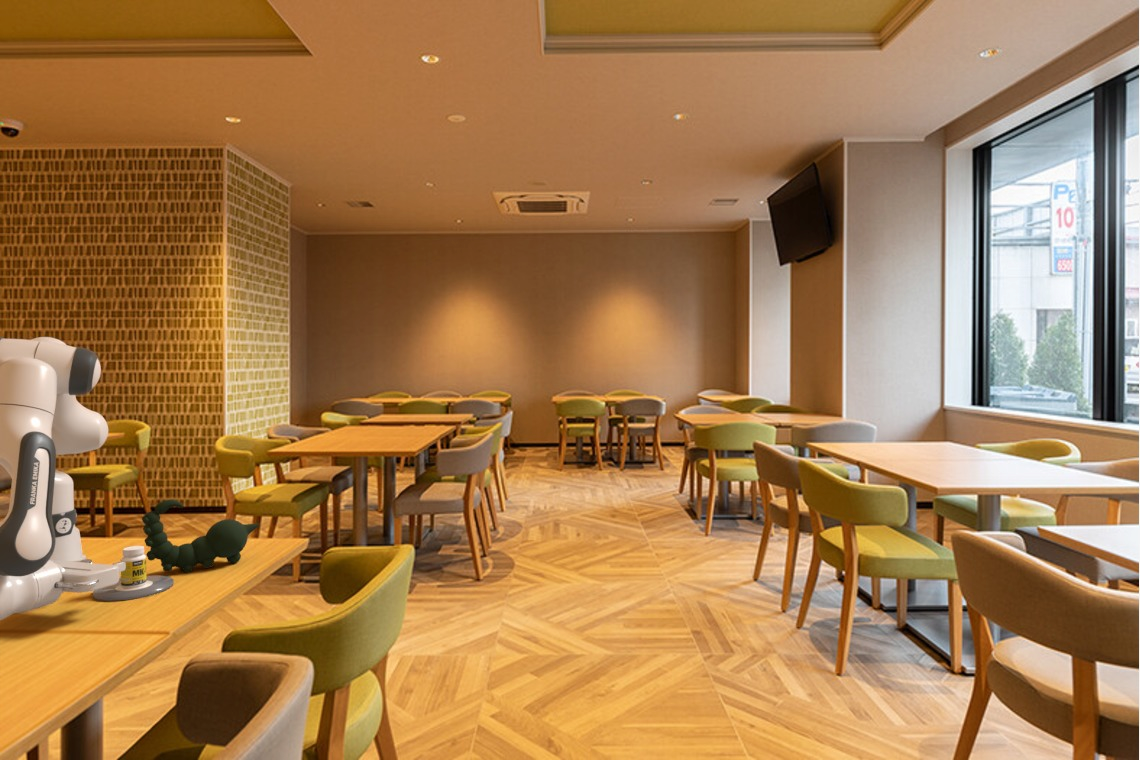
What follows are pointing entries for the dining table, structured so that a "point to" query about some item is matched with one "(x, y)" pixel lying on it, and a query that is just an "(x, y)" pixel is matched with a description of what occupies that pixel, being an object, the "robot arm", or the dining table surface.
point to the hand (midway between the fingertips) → (106, 564)
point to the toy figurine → (194, 541)
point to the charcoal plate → (134, 589)
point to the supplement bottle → (133, 567)
